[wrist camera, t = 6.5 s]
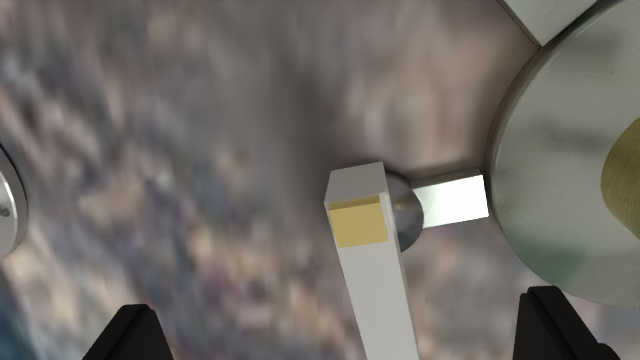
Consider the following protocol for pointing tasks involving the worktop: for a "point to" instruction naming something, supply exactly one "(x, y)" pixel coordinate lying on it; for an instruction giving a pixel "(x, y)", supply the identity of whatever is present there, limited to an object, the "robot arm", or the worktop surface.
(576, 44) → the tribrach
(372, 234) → the knob
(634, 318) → the worktop surface
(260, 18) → the worktop surface
